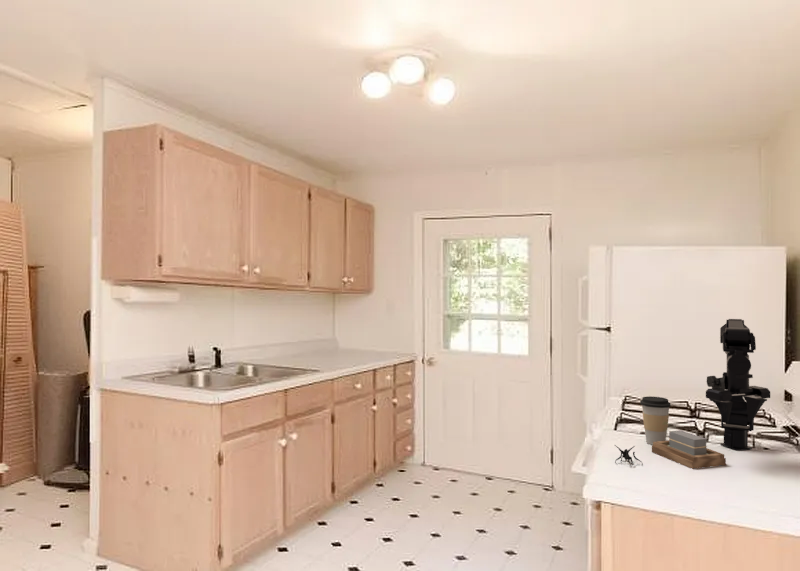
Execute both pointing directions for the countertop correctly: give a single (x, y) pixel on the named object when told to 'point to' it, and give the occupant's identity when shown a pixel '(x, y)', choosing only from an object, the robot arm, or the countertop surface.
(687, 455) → the wooden picture frame
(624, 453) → the creature
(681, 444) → the glasses case
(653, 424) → the coffee cup
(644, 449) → the countertop surface
